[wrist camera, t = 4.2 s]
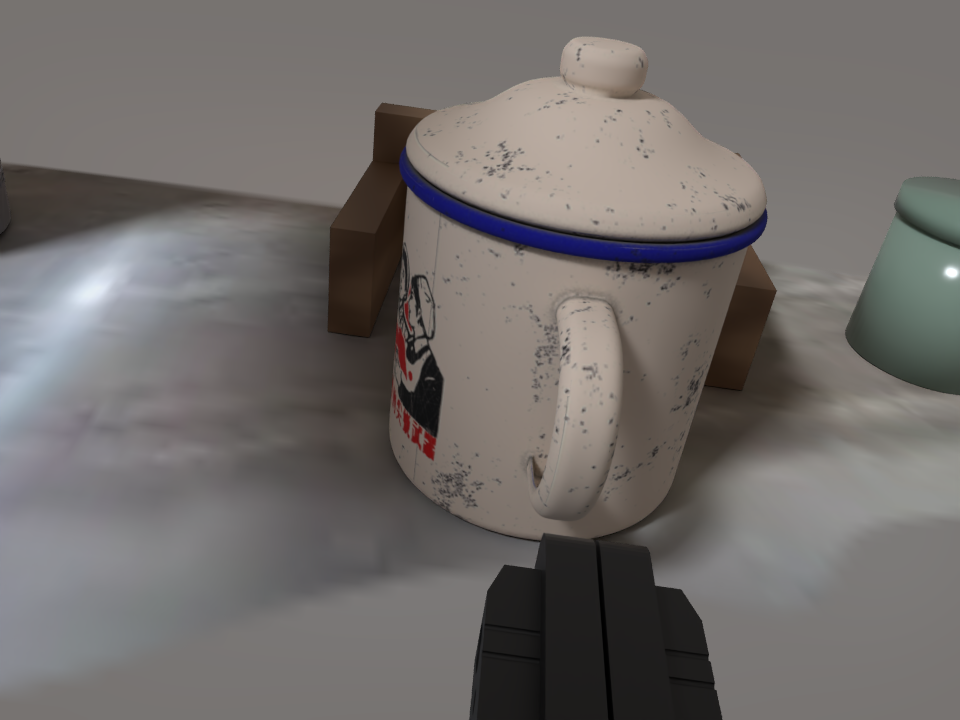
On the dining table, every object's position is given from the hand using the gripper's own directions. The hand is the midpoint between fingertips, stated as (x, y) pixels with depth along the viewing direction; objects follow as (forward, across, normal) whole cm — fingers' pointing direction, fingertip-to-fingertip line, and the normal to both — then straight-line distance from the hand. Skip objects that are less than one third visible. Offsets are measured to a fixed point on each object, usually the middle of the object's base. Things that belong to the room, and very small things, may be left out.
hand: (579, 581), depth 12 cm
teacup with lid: (+10, 0, +6) cm, 11 cm away
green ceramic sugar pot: (+21, -16, +6) cm, 27 cm away
